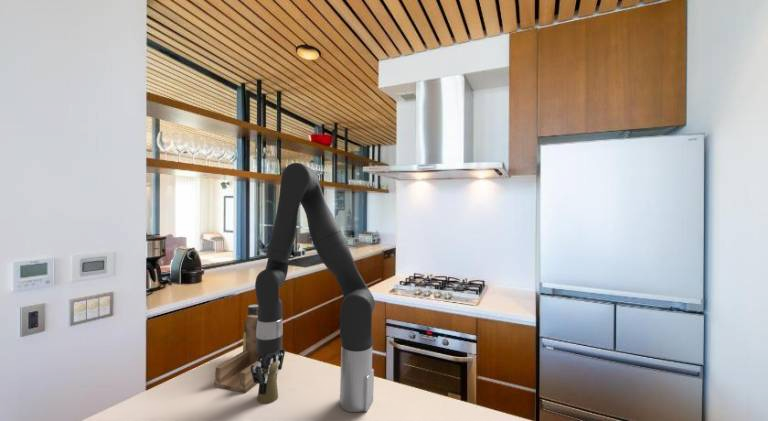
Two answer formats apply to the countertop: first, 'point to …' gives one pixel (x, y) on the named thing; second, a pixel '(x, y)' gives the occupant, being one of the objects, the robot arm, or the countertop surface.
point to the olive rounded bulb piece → (269, 386)
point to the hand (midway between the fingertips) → (268, 390)
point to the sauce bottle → (251, 311)
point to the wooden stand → (240, 363)
